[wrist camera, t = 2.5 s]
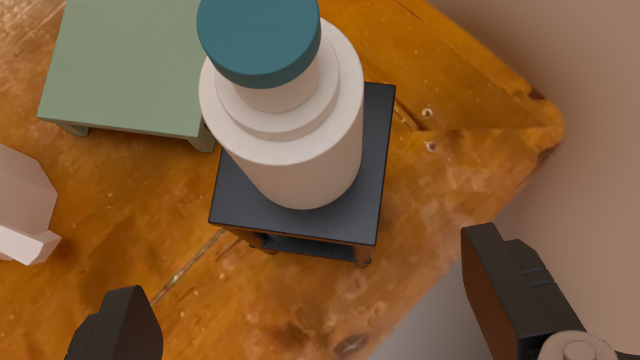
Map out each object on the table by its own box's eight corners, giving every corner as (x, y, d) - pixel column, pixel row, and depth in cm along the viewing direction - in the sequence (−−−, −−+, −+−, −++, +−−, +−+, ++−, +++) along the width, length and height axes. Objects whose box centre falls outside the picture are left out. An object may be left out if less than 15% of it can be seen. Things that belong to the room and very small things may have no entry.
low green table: (241, 17, 47) (228, -17, 42) (214, 156, 44) (197, 137, 39) (104, 2, 48) (75, -32, 43) (70, 137, 45) (35, 116, 40)
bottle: (368, 104, 27) (379, -69, 15) (353, 217, 26) (350, 133, 14) (256, 91, 28) (173, -88, 15) (236, 201, 27) (128, 106, 14)
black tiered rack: (382, 165, 43) (396, 84, 28) (368, 269, 41) (375, 246, 26) (279, 151, 44) (237, 66, 28) (262, 254, 42) (207, 222, 27)
